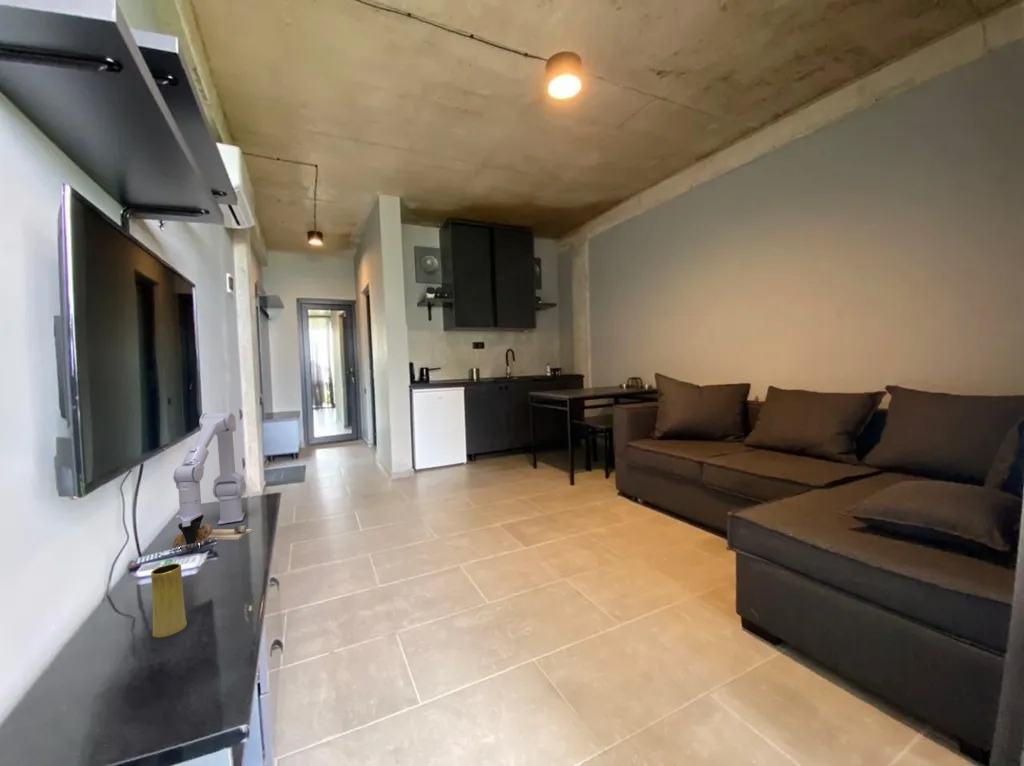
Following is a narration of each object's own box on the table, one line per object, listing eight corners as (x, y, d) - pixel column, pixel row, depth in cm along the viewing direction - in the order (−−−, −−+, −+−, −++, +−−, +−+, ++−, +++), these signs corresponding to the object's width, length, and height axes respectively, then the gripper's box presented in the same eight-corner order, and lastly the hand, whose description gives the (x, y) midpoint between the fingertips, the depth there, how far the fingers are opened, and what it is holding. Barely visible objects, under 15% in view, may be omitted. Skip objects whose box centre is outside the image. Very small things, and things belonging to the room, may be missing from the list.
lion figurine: (213, 542, 145) (212, 521, 144) (212, 547, 141) (211, 525, 141) (169, 551, 138) (168, 529, 138) (166, 556, 135) (165, 533, 135)
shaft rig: (196, 532, 155) (196, 522, 154) (252, 531, 154) (251, 522, 153) (181, 540, 148) (180, 530, 147) (238, 539, 147) (238, 529, 146)
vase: (145, 640, 92) (141, 576, 91) (163, 623, 98) (159, 564, 97) (177, 636, 93) (173, 573, 92) (192, 619, 99) (189, 560, 98)
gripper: (180, 497, 144) (182, 536, 144) (169, 509, 131) (171, 551, 132) (205, 493, 147) (207, 531, 148) (196, 505, 134) (199, 546, 135)
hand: (192, 540), depth 140 cm, fingers closed on lion figurine, 4 cm apart
